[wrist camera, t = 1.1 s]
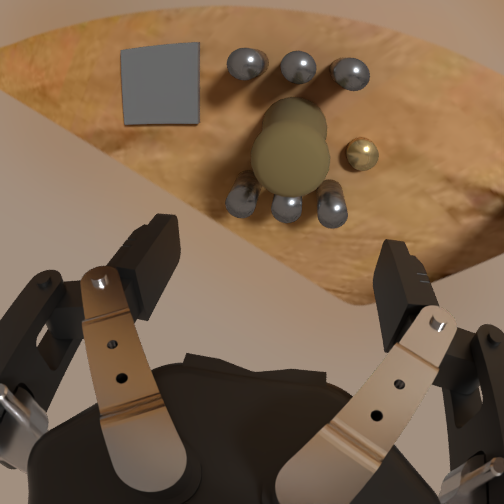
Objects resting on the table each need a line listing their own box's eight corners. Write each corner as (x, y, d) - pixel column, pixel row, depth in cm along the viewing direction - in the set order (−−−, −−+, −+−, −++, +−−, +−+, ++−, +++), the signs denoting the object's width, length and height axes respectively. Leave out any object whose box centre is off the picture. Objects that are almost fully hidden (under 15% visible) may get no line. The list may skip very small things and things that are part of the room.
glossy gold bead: (373, 134, 27) (375, 137, 26) (378, 163, 29) (380, 167, 28) (342, 140, 28) (344, 143, 27) (349, 168, 30) (350, 173, 29)
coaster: (199, 42, 24) (197, 42, 24) (199, 122, 29) (197, 123, 28) (123, 49, 25) (120, 50, 25) (127, 123, 30) (124, 124, 29)
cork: (291, 170, 30) (284, 227, 22) (248, 125, 28) (220, 163, 20) (340, 133, 28) (358, 175, 19) (297, 83, 26) (292, 98, 17)
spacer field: (360, 60, 23) (371, 61, 19) (340, 204, 32) (344, 230, 28) (239, 48, 24) (227, 47, 20) (236, 193, 33) (225, 216, 29)
